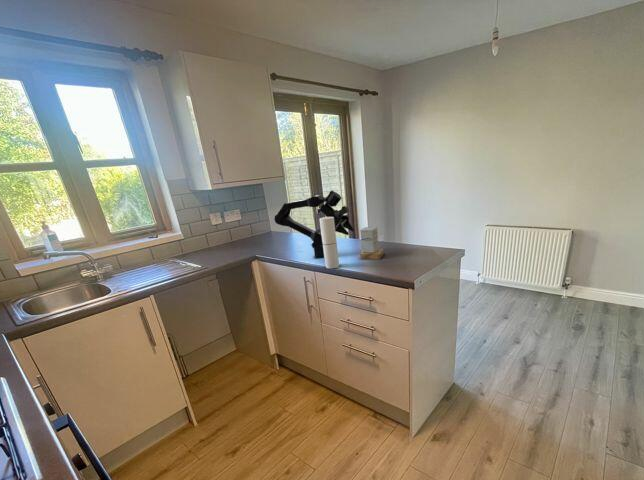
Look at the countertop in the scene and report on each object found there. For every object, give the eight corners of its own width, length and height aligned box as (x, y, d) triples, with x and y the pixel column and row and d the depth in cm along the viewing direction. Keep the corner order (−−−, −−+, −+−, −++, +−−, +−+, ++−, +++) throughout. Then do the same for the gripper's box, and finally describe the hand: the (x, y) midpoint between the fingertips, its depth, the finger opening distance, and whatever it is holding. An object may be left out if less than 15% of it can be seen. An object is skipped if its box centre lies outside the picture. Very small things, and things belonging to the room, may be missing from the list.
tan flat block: (360, 259, 171) (360, 253, 170) (365, 254, 180) (365, 248, 179) (380, 259, 168) (379, 253, 167) (384, 253, 176) (383, 248, 175)
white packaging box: (361, 252, 172) (359, 229, 167) (366, 249, 178) (365, 226, 173) (373, 253, 169) (372, 229, 164) (378, 249, 175) (377, 226, 170)
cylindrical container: (322, 267, 164) (316, 219, 154) (332, 263, 168) (326, 216, 158) (332, 269, 159) (326, 219, 149) (342, 265, 164) (336, 217, 154)
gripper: (332, 204, 159) (354, 225, 160) (344, 199, 175) (364, 218, 176) (320, 220, 165) (342, 240, 166) (333, 214, 181) (352, 232, 182)
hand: (351, 232), depth 172 cm, fingers open, 9 cm apart
